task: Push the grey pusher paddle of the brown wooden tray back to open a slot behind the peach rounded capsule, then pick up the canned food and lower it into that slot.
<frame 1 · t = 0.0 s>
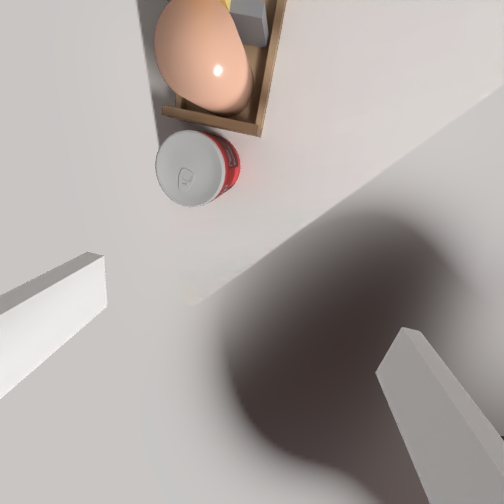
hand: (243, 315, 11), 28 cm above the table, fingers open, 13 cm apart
peach rounded capsule: (224, 83, 31), point 1 cm above the table, touching brown wooden tray
canned food: (216, 165, 35), on the table
brown wooden tray: (235, 13, 28), on the table
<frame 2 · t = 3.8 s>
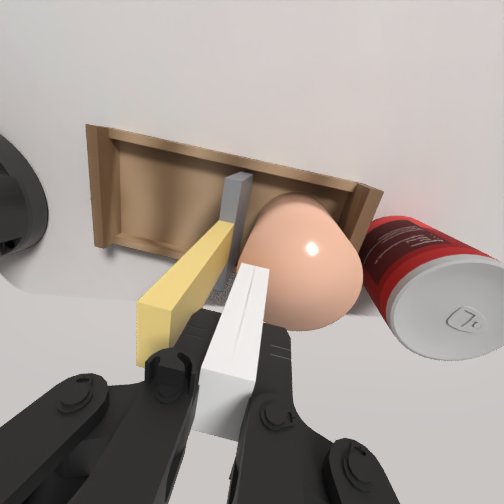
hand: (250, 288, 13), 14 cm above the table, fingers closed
peach rounded capsule: (292, 229, 25), point 1 cm above the table, touching brown wooden tray
pusher: (217, 249, 16), point 10 cm above the table, slide at 0.7 cm, touching gripper
canned food: (387, 249, 25), on the table
brown wooden tray: (225, 212, 25), on the table
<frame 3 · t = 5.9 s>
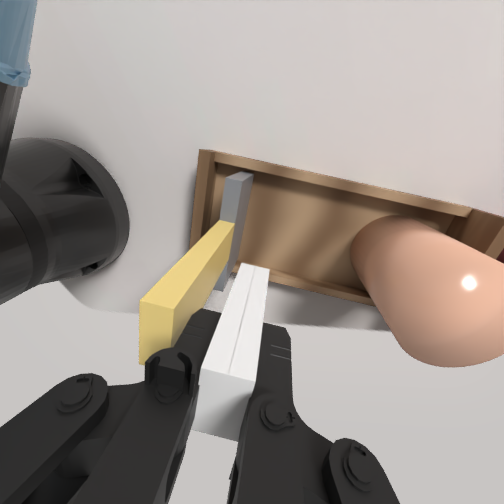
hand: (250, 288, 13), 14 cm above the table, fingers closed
peach rounded capsule: (388, 251, 24), point 1 cm above the table, touching brown wooden tray
pusher: (218, 248, 17), point 10 cm above the table, slide at 10.8 cm, touching gripper
brown wooden tray: (318, 233, 25), on the table
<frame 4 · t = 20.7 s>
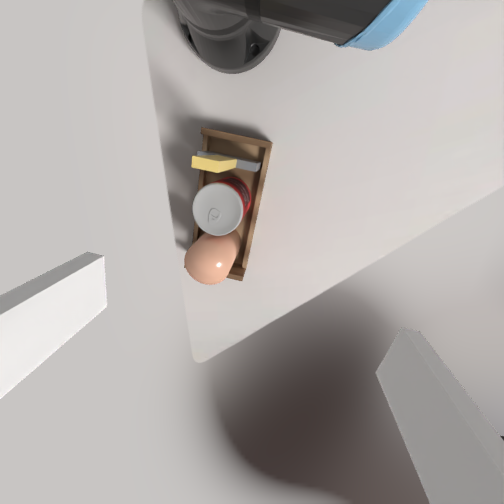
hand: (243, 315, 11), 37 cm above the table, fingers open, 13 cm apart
peach rounded capsule: (222, 241, 49), point 1 cm above the table, touching brown wooden tray
pusher: (223, 161, 34), point 10 cm above the table, slide at 10.9 cm
canned food: (232, 197, 45), resting on brown wooden tray
brown wooden tray: (229, 205, 46), on the table
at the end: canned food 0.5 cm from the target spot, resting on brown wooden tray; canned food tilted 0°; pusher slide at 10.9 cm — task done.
